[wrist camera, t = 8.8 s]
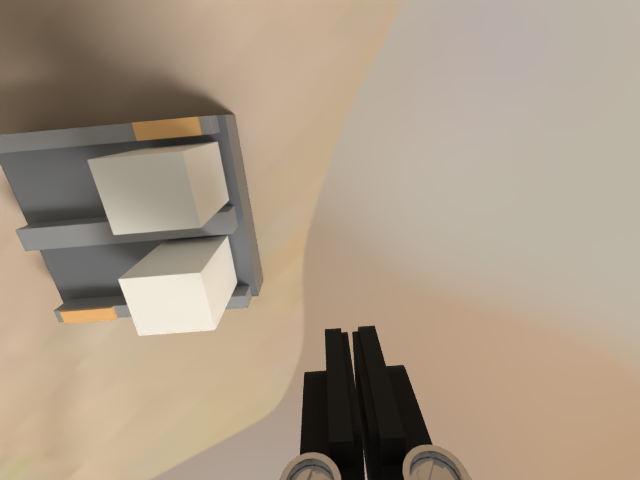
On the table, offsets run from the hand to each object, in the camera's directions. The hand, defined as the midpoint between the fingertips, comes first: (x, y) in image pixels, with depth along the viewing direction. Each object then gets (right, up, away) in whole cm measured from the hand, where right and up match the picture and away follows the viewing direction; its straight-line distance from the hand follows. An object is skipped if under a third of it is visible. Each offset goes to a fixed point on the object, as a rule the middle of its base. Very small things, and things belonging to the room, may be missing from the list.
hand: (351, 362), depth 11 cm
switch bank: (-11, +6, +9) cm, 15 cm away
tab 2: (-8, +3, +7) cm, 11 cm away
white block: (-8, +8, +6) cm, 12 cm away
